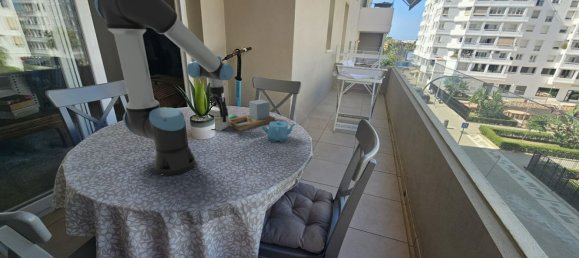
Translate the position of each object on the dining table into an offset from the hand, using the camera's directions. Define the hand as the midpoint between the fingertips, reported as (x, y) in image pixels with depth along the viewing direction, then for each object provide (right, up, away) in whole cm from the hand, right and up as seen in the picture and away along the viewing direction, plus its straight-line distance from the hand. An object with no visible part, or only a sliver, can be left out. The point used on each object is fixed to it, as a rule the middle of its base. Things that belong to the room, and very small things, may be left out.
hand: (219, 124), depth 136 cm
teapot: (+34, -8, -10) cm, 36 cm away
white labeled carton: (0, -2, 0) cm, 2 cm away
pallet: (+17, 0, +9) cm, 19 cm away
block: (+21, +3, +12) cm, 25 cm away
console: (+4, +2, +13) cm, 14 cm away
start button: (+4, +3, +12) cm, 13 cm away
